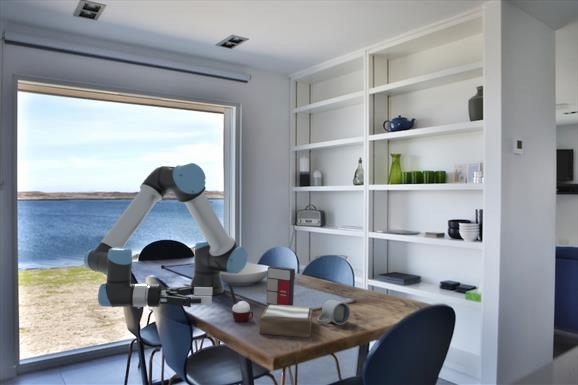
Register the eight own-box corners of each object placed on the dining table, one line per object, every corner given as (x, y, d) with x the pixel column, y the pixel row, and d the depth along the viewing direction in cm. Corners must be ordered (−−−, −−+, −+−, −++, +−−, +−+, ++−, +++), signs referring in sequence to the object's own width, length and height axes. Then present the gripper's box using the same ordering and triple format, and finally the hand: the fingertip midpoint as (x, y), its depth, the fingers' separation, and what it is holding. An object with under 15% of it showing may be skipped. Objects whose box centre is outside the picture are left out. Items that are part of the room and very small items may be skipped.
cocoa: (255, 322, 144) (258, 288, 144) (241, 325, 139) (245, 290, 140) (237, 315, 150) (240, 282, 151) (223, 318, 146) (227, 284, 146)
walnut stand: (267, 319, 147) (267, 303, 147) (311, 322, 145) (312, 306, 145) (259, 333, 131) (260, 316, 131) (309, 337, 129) (310, 319, 130)
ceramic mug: (336, 317, 153) (336, 296, 153) (350, 323, 145) (350, 301, 146) (312, 321, 147) (312, 299, 147) (325, 327, 140) (326, 305, 140)
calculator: (265, 304, 168) (266, 267, 169) (270, 301, 172) (271, 265, 172) (289, 308, 163) (290, 270, 163) (293, 305, 167) (295, 268, 167)
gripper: (153, 297, 152) (212, 298, 155) (140, 316, 127) (210, 316, 131) (154, 277, 152) (213, 278, 155) (142, 292, 127) (211, 292, 131)
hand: (212, 295), depth 143 cm, fingers open, 13 cm apart
